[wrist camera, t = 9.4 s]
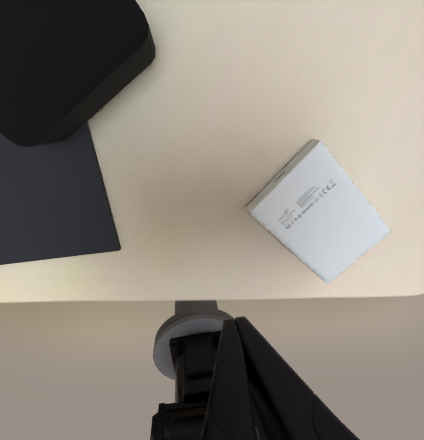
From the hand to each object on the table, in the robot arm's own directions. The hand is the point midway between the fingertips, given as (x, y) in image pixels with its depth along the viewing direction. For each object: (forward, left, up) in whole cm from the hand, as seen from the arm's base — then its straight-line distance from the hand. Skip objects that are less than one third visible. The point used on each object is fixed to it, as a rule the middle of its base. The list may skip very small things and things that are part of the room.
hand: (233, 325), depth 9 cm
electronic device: (+9, +6, -10) cm, 15 cm away
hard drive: (-2, -11, -13) cm, 17 cm away
